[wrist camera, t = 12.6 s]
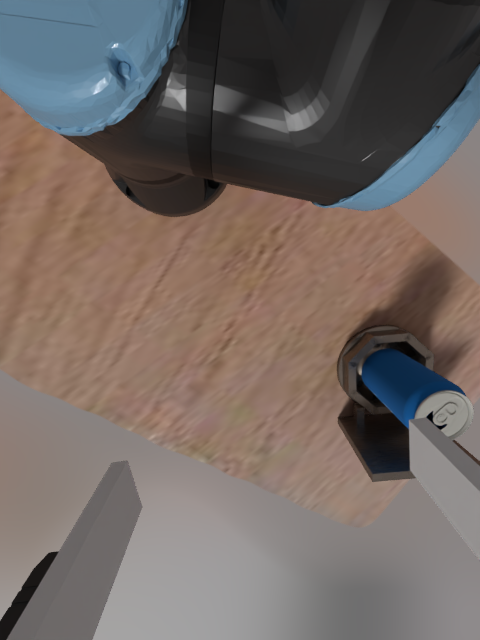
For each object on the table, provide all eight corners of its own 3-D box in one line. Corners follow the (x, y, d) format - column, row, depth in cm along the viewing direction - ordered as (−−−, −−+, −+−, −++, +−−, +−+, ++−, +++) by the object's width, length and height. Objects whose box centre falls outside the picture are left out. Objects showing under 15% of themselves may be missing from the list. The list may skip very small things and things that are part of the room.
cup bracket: (336, 329, 38) (373, 357, 28) (424, 321, 38) (496, 346, 28) (338, 423, 42) (372, 481, 31) (419, 416, 42) (482, 472, 31)
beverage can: (349, 370, 39) (397, 420, 27) (384, 337, 38) (449, 373, 26) (380, 398, 40) (439, 458, 28) (415, 366, 39) (491, 414, 27)
